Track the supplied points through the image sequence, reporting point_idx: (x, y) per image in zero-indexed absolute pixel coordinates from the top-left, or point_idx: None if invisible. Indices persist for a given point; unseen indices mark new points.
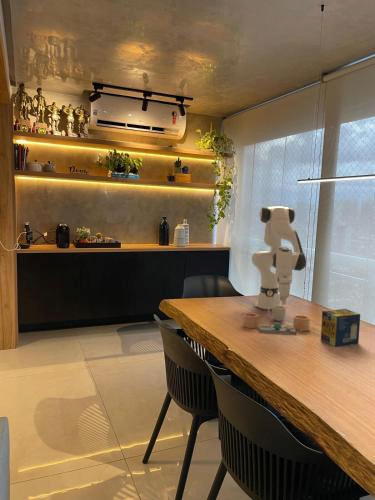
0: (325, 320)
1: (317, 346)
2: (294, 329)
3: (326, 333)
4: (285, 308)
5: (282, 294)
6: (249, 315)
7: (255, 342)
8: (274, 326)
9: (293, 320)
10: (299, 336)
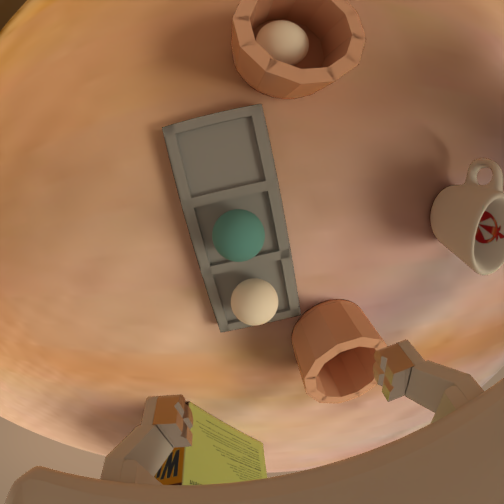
0: (164, 480)
1: (112, 388)
2: None
3: None
4: (480, 274)
5: (14, 493)
6: (338, 21)
7: (16, 157)
8: (219, 217)
9: (350, 322)
10: (196, 338)
